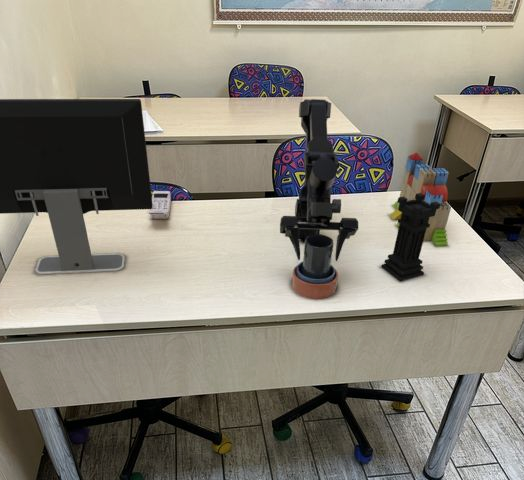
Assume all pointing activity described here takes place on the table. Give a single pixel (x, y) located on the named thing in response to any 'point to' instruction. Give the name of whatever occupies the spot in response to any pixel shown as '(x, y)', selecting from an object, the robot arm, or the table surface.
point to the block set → (426, 195)
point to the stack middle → (315, 281)
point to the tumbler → (317, 256)
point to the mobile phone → (160, 205)
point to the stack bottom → (314, 287)
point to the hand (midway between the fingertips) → (317, 260)
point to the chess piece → (410, 237)
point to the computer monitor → (73, 170)
